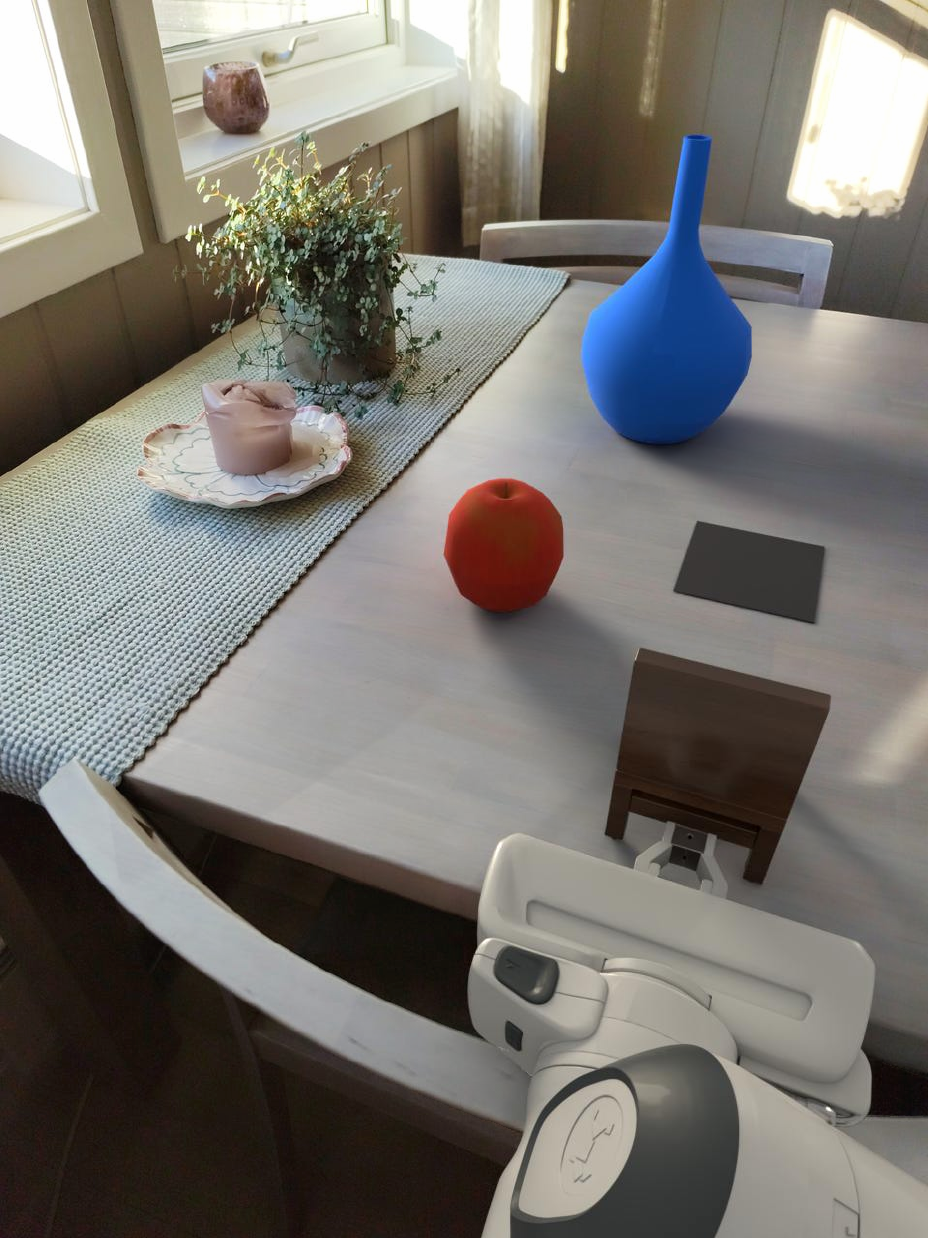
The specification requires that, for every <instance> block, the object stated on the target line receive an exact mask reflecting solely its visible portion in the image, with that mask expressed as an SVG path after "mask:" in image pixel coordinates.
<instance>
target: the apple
mask: <svg viewBox="0 0 928 1238" xmlns="http://www.w3.org/2000/svg"><path fill="white" fill-rule="evenodd" d="M563 523H564V522H563V517H562V515H561V513H560V512H559V511H558V509H557V508H556V506H555V505H554V503H553V502H552V500H551V499H550V498H548V497H547V495H546V494H544V493H543V491H541V490H539V489H537V488H535V487H533V486H532V485H530V484H528V483H526V482H525V481H522V480H518V479H515V478H513V477H511V478H509V477H508V478H505V477H503V478H502V477H501V478H494V479H489V480H486V481H484V482H481V483H480V484H477V485H476V486H473V487H470V488H469V489H467V490H466V491H465V492H464V494H462V496H461V497H460V498H459V500H458V501H457V502H456V504H455V505H454V507H453V508H452V509H451V511H450V512H449V514H448V520H447V528H446V535H445V541H444V549H443V557H444V560H445V562H446V564H447V566H448V569H449V572H450V574H451V577H452V579H453V582H454V584H455V587H456V588H457V590H458V592H459V593H460V595H461V597H463V598H464V599H466V600H468V601H469V602H470V603H471V604H473V605H475V606H477V607H478V608H482V609H484V610H487V611H490V612H494V613H508V612H512V611H518V610H521V609H524V608H529V607H533V606H535V605H537V604H538V603H539V602H540V601H542V599H545V597H547V595H548V593H549V591H550V589H551V588H552V587H551V586H552V585H553V582H554V581H555V579H556V576H557V575H558V572H559V570H560V567H561V566H562V565H561V564H562V562H563V559H564V555H565V554H564V552H565V551H564V546H565V545H564V544H565V543H564V524H563Z"/></svg>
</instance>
